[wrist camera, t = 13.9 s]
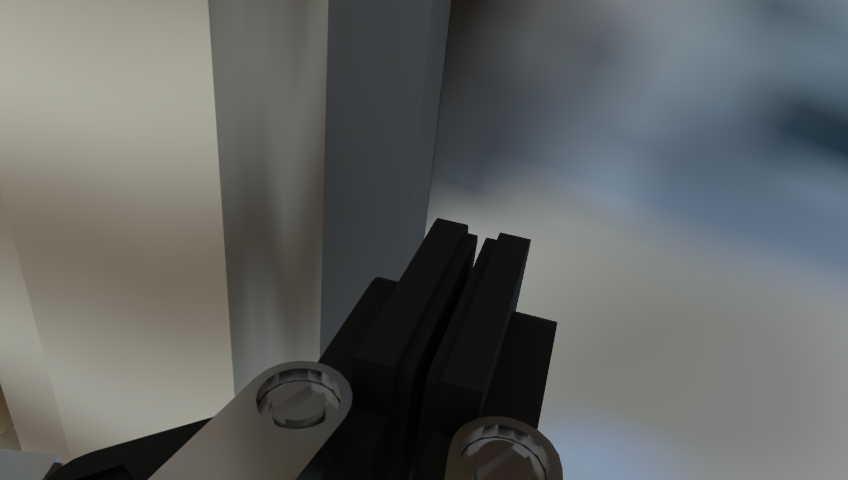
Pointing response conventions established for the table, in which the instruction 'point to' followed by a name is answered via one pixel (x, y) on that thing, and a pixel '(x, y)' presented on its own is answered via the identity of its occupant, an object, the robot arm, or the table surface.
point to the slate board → (377, 143)
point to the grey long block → (155, 209)
